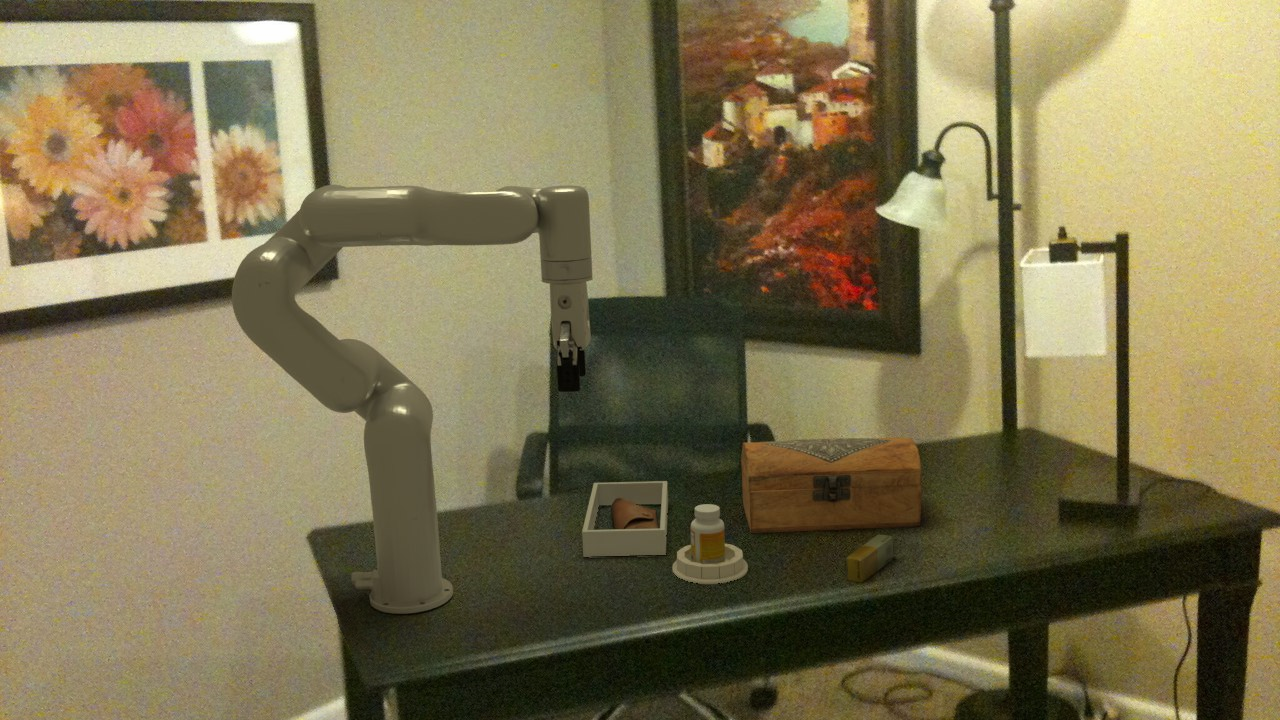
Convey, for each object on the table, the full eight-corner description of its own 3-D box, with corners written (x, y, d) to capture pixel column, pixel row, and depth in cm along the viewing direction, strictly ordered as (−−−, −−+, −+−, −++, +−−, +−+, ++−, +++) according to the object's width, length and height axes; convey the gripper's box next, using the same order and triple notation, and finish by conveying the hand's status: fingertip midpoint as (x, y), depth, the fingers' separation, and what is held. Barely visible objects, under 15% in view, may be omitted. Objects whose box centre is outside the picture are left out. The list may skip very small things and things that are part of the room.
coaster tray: (672, 585, 186) (671, 569, 185) (672, 556, 197) (672, 541, 197) (749, 583, 185) (749, 567, 185) (745, 554, 197) (745, 539, 196)
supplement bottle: (732, 564, 191) (731, 506, 189) (711, 575, 187) (710, 515, 185) (705, 557, 195) (704, 500, 193) (684, 567, 191) (683, 509, 189)
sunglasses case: (668, 545, 202) (646, 514, 200) (633, 568, 202) (611, 537, 201) (656, 510, 219) (637, 481, 218) (624, 531, 220) (604, 502, 218)
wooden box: (748, 536, 206) (747, 458, 203) (741, 504, 222) (740, 432, 219) (924, 531, 205) (925, 453, 202) (904, 499, 221) (905, 426, 218)
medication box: (879, 555, 195) (879, 532, 194) (895, 558, 193) (894, 535, 193) (846, 581, 186) (845, 556, 185) (862, 584, 184) (861, 559, 183)
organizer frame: (583, 557, 198) (582, 531, 197) (594, 505, 223) (593, 482, 222) (665, 555, 198) (664, 530, 197) (667, 504, 223) (667, 481, 222)
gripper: (587, 278, 168) (592, 396, 172) (596, 261, 185) (601, 369, 189) (534, 280, 169) (540, 398, 172) (547, 263, 185) (553, 371, 189)
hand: (572, 383), depth 180 cm, fingers open, 9 cm apart
